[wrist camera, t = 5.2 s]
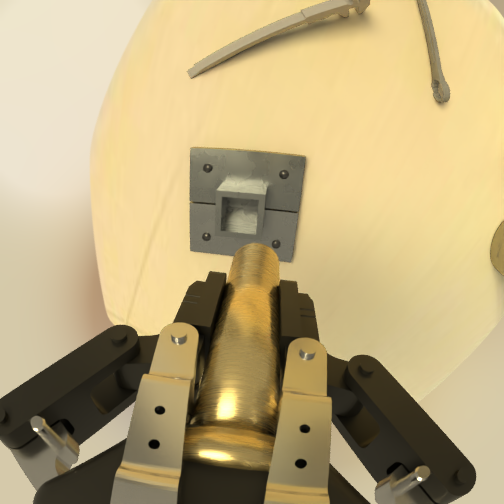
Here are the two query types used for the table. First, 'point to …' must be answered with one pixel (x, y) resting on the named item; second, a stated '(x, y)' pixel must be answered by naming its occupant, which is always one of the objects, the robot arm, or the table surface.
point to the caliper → (279, 30)
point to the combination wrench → (433, 54)
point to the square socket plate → (244, 200)
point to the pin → (241, 369)
